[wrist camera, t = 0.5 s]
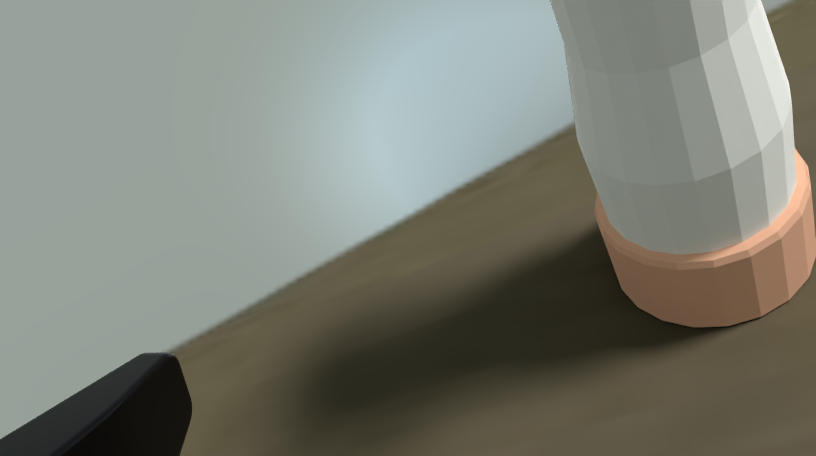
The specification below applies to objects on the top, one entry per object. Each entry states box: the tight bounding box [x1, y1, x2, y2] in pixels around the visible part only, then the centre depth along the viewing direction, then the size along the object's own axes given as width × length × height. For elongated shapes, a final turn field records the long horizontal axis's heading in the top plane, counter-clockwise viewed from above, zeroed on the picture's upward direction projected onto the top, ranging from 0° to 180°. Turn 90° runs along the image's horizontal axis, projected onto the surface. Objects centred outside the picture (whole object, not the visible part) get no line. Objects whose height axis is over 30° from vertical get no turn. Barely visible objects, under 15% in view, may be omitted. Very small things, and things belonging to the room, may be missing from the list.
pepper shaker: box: [550, 0, 816, 327], centre depth 23 cm, size 7×7×19 cm
